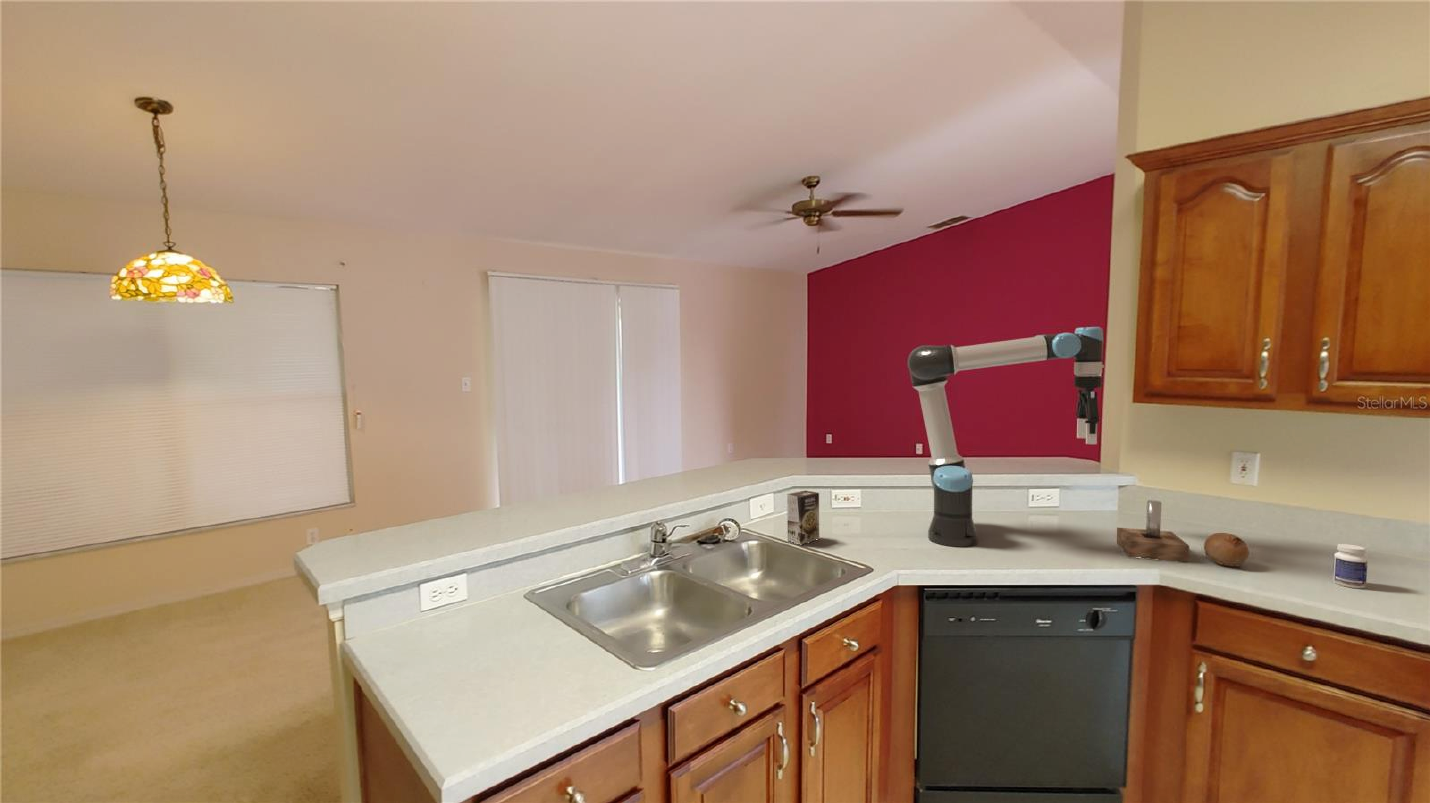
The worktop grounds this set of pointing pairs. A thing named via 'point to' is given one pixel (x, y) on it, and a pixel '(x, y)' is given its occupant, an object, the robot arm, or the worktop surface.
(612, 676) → the worktop surface
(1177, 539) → the wooden block with hole
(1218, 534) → the kiwi fruit
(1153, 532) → the steel pin
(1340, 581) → the pill bottle
